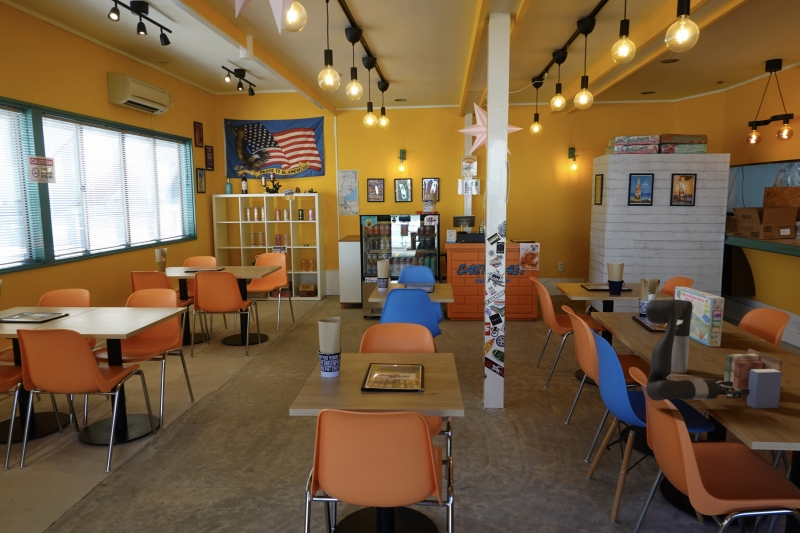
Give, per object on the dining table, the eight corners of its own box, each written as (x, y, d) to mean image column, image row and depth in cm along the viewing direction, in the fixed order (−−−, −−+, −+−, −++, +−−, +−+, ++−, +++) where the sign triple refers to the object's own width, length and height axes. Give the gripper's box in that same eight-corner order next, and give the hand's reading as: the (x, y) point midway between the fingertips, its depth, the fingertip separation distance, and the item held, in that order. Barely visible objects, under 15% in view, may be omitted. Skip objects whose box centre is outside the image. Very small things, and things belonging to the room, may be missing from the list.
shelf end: (754, 401, 208) (758, 362, 206) (721, 385, 226) (724, 349, 224) (782, 401, 209) (786, 361, 207) (747, 384, 228) (750, 348, 226)
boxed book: (754, 408, 201) (758, 372, 200) (746, 404, 205) (749, 369, 204) (778, 407, 203) (782, 371, 201) (770, 403, 206) (773, 368, 205)
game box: (720, 347, 288) (724, 298, 285) (707, 347, 288) (711, 297, 285) (683, 329, 328) (686, 286, 325) (671, 329, 328) (674, 286, 325)
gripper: (714, 386, 193) (755, 384, 195) (689, 373, 207) (727, 372, 209) (713, 405, 194) (753, 404, 195) (688, 392, 208) (726, 390, 210)
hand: (740, 387), depth 202 cm, fingers open, 8 cm apart
